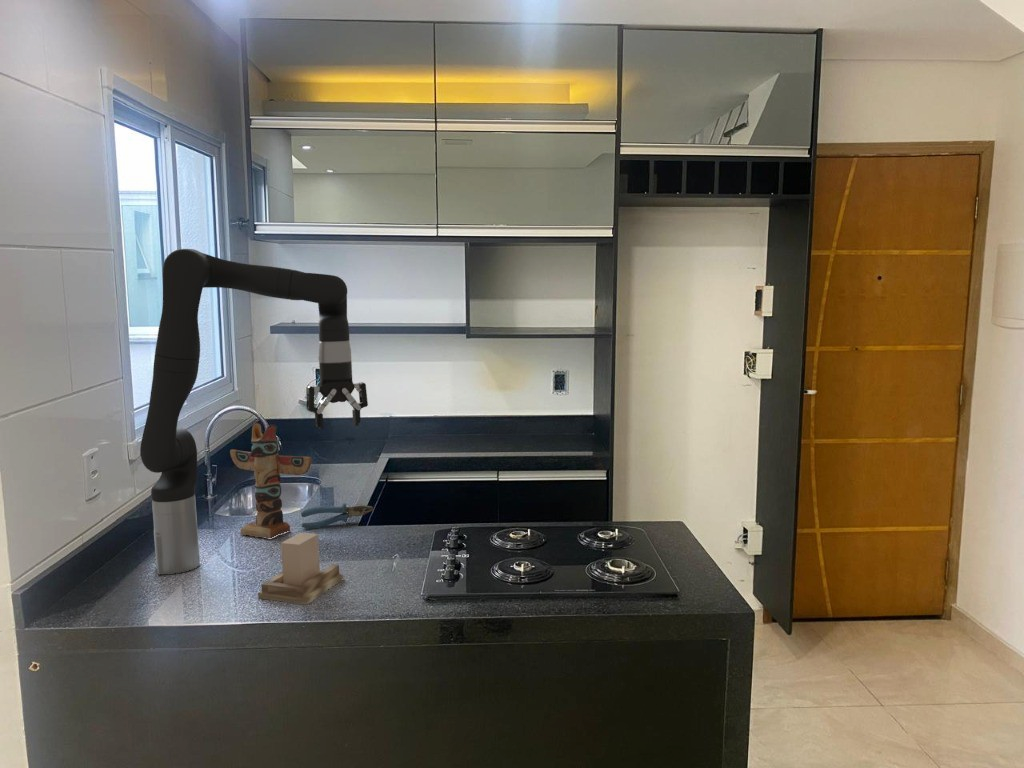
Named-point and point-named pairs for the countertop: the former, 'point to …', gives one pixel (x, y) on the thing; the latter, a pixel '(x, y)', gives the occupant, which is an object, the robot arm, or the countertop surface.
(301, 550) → the clay block
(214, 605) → the countertop surface
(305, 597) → the wooden rimmed tray
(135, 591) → the countertop surface
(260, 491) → the totem pole
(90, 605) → the countertop surface
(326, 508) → the pliers
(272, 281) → the robot arm
